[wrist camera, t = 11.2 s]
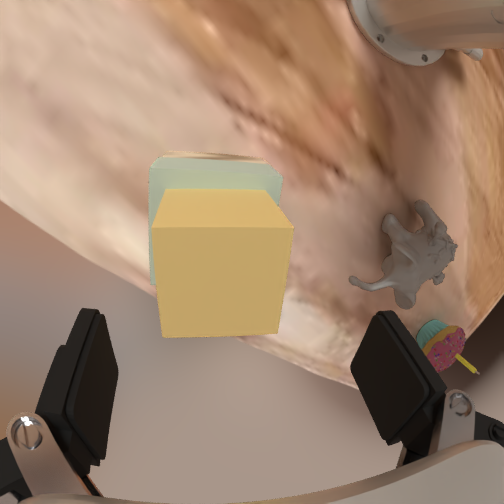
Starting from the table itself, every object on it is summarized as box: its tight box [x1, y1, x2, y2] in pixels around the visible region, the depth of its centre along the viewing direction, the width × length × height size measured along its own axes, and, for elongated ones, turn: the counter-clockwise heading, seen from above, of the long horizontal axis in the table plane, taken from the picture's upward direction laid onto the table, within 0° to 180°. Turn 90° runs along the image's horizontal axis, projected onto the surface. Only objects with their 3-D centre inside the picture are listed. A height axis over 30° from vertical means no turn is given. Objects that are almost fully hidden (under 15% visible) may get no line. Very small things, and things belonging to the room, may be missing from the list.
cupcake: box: [416, 320, 479, 374], centre depth 35 cm, size 9×8×12 cm
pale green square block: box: [149, 157, 283, 285], centre depth 21 cm, size 8×8×4 cm
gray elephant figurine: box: [349, 200, 458, 309], centre depth 28 cm, size 9×12×8 cm
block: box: [151, 189, 294, 338], centre depth 16 cm, size 6×6×6 cm
